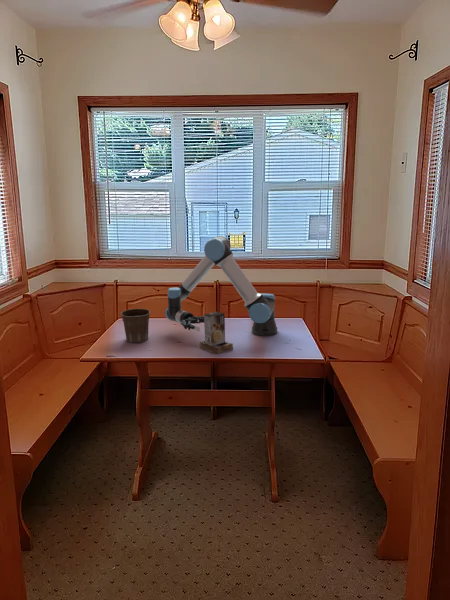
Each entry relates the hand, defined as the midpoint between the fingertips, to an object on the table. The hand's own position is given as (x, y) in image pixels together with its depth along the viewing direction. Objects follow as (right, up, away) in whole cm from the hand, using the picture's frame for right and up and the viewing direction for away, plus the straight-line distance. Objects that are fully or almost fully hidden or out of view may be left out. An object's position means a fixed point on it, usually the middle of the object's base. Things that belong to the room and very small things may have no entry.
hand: (208, 326), depth 235 cm
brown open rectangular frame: (+3, -12, -1) cm, 12 cm away
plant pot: (-41, -9, +14) cm, 44 cm away
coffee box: (+3, -9, -1) cm, 10 cm away
